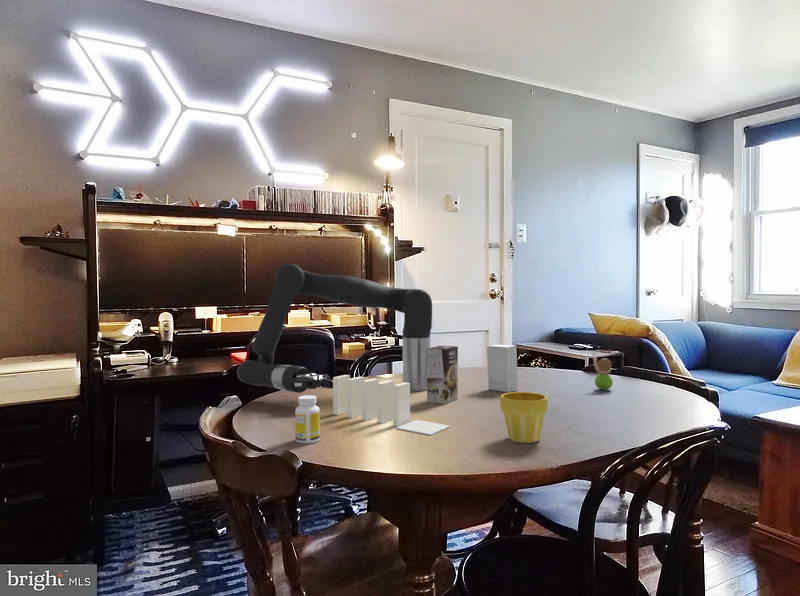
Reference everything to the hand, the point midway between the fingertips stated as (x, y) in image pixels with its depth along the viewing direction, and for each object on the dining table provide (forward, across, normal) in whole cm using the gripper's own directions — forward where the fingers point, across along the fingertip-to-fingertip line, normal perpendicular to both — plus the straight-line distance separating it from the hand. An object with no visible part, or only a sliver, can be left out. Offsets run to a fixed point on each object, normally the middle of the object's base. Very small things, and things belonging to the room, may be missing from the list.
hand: (334, 384), depth 148 cm
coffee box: (+17, +29, +8) cm, 35 cm away
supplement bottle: (+14, -24, +8) cm, 29 cm away
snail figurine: (+51, +73, +8) cm, 90 cm away
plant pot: (+53, +5, +8) cm, 54 cm away
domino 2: (+8, 0, +8) cm, 11 cm away
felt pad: (+29, 0, +8) cm, 30 cm away
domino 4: (+18, 0, +8) cm, 19 cm away
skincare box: (+24, +54, +8) cm, 60 cm away
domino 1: (+3, 0, +8) cm, 8 cm away
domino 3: (+13, 0, +8) cm, 15 cm away
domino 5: (+23, 0, +8) cm, 24 cm away
